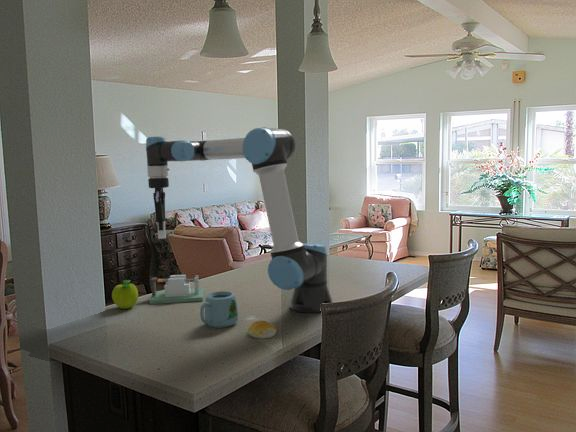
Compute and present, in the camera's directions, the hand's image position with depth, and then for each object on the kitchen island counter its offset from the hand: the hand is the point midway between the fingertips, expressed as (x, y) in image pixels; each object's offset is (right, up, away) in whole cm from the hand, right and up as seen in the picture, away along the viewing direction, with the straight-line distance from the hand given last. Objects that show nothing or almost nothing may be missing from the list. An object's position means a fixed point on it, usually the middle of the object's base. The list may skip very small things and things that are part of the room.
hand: (162, 238), depth 201 cm
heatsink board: (+6, -24, +3) cm, 25 cm away
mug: (+26, -27, -32) cm, 49 cm away
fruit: (-11, -26, -8) cm, 29 cm away
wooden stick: (+6, -17, +3) cm, 18 cm away
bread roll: (+41, -28, -41) cm, 64 cm away
